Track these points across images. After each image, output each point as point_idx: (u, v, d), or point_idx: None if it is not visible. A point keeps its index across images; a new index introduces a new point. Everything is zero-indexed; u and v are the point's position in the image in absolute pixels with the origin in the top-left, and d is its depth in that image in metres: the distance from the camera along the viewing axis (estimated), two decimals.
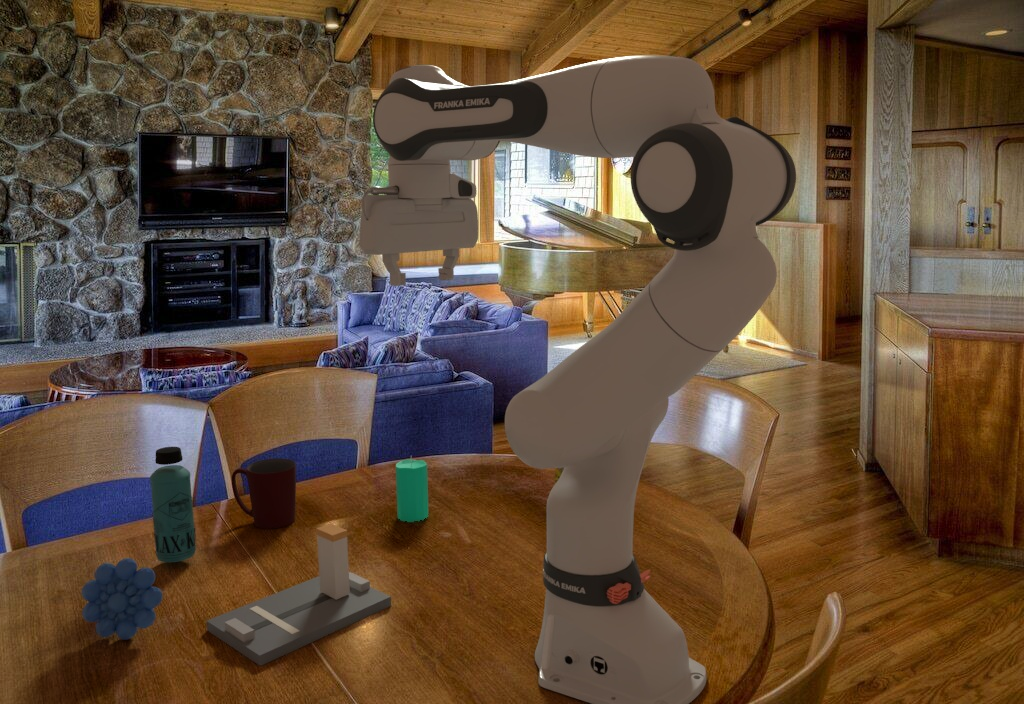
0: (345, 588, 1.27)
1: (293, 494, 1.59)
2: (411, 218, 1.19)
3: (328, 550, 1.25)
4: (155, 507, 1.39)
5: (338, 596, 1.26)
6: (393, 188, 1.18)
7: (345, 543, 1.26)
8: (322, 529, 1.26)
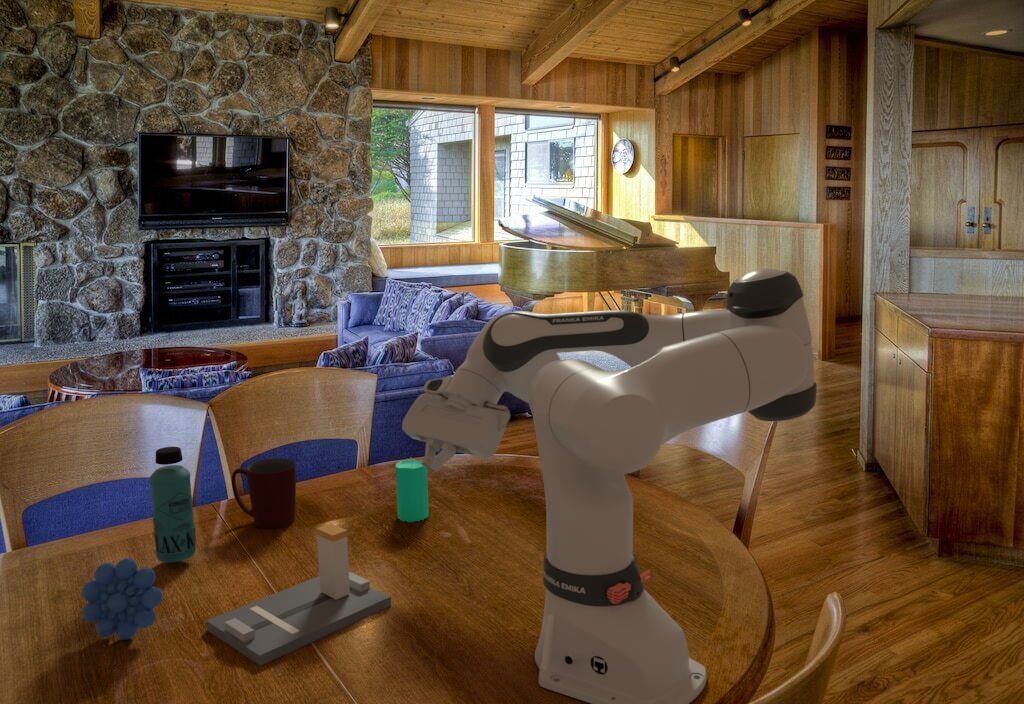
0: (345, 588, 1.27)
1: (293, 494, 1.59)
2: None
3: (328, 550, 1.25)
4: (155, 507, 1.39)
5: (338, 596, 1.26)
6: None
7: (345, 543, 1.26)
8: (322, 529, 1.26)
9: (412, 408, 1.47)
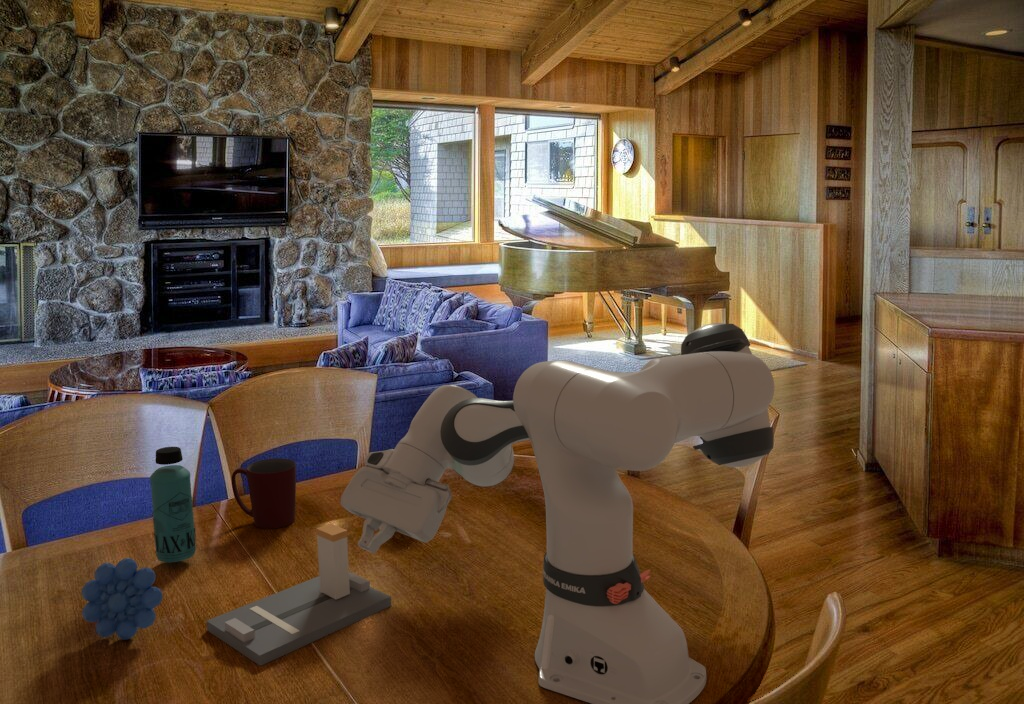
0: (345, 588, 1.27)
1: (293, 494, 1.59)
2: None
3: (328, 550, 1.25)
4: (155, 507, 1.39)
5: (338, 596, 1.26)
6: None
7: (345, 543, 1.26)
8: (322, 529, 1.26)
9: (352, 482, 1.40)
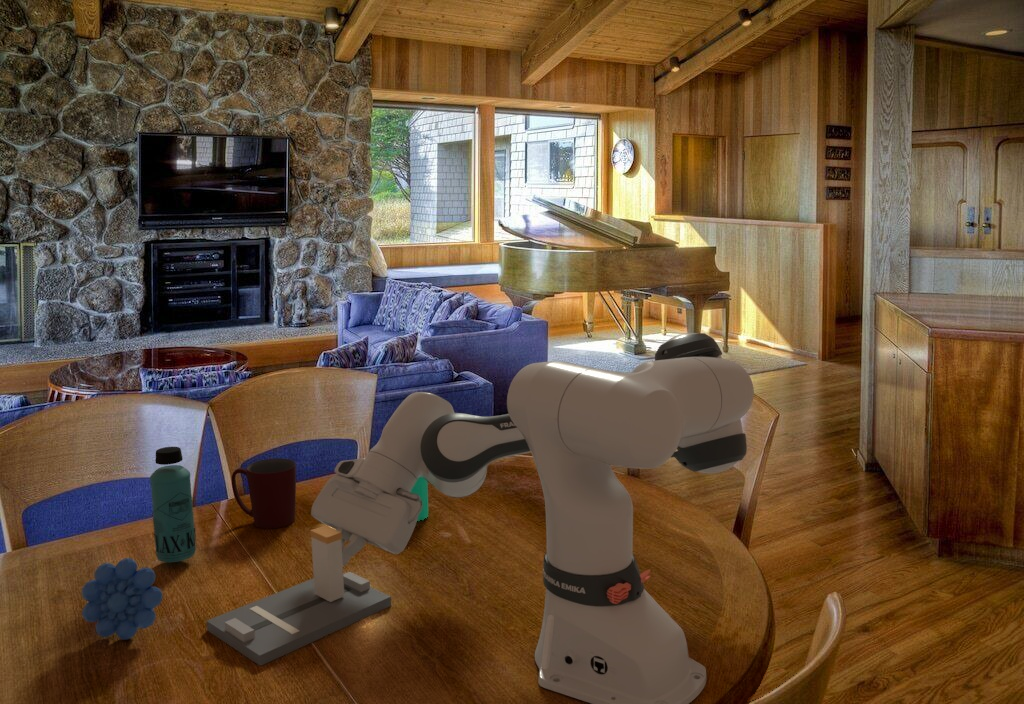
0: (339, 591, 1.26)
1: (293, 494, 1.59)
2: None
3: (322, 552, 1.25)
4: (155, 507, 1.39)
5: (332, 599, 1.26)
6: None
7: (339, 545, 1.25)
8: (316, 531, 1.26)
9: (322, 491, 1.36)
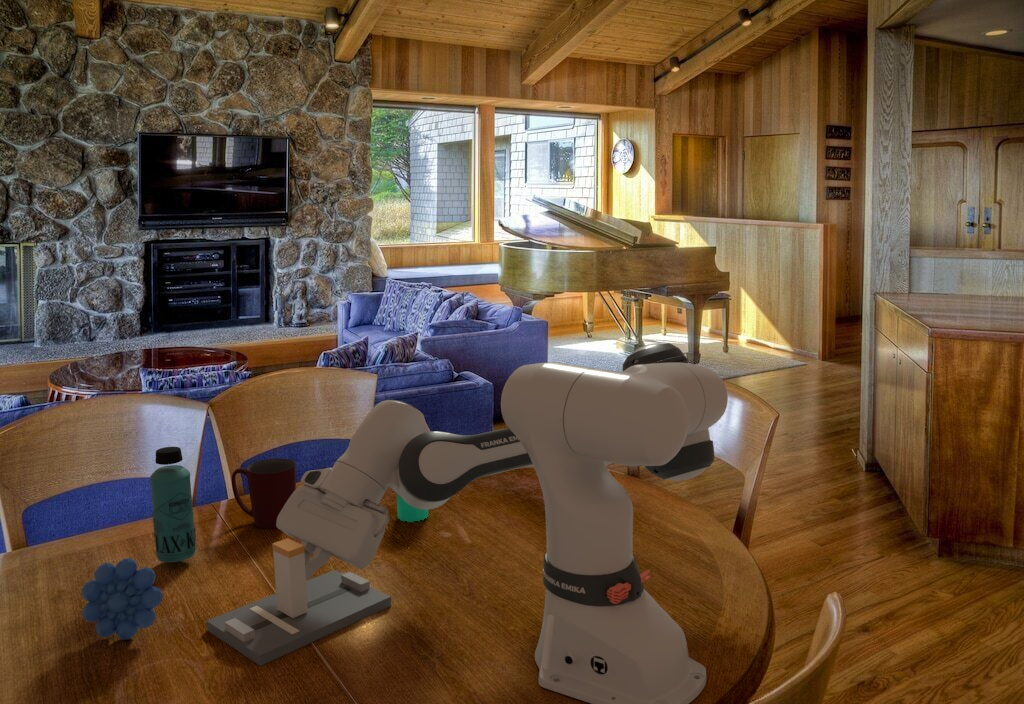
0: (302, 606, 1.22)
1: None
2: None
3: (284, 566, 1.20)
4: (155, 507, 1.39)
5: (295, 615, 1.21)
6: None
7: (302, 559, 1.21)
8: (278, 544, 1.21)
9: (288, 502, 1.32)
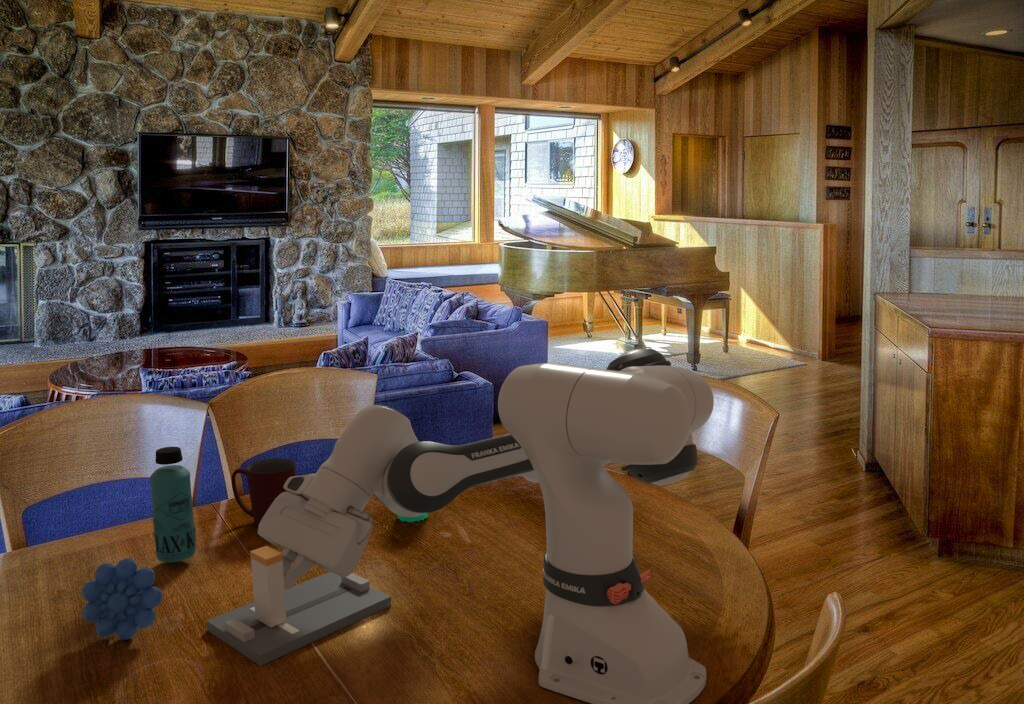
0: (281, 615, 1.19)
1: None
2: None
3: (262, 575, 1.18)
4: (155, 507, 1.39)
5: (273, 624, 1.18)
6: None
7: (280, 567, 1.18)
8: (256, 552, 1.18)
9: (270, 509, 1.29)
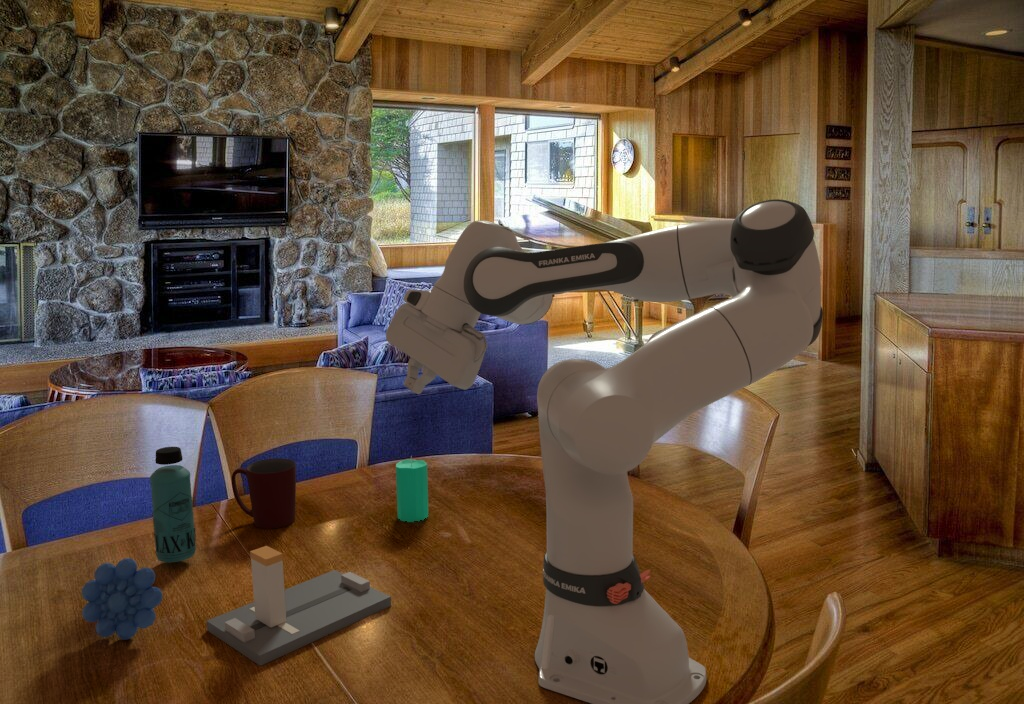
0: (281, 615, 1.19)
1: (293, 494, 1.59)
2: None
3: (262, 575, 1.18)
4: (155, 507, 1.39)
5: (273, 624, 1.18)
6: None
7: (280, 567, 1.18)
8: (256, 552, 1.18)
9: (394, 319, 1.42)
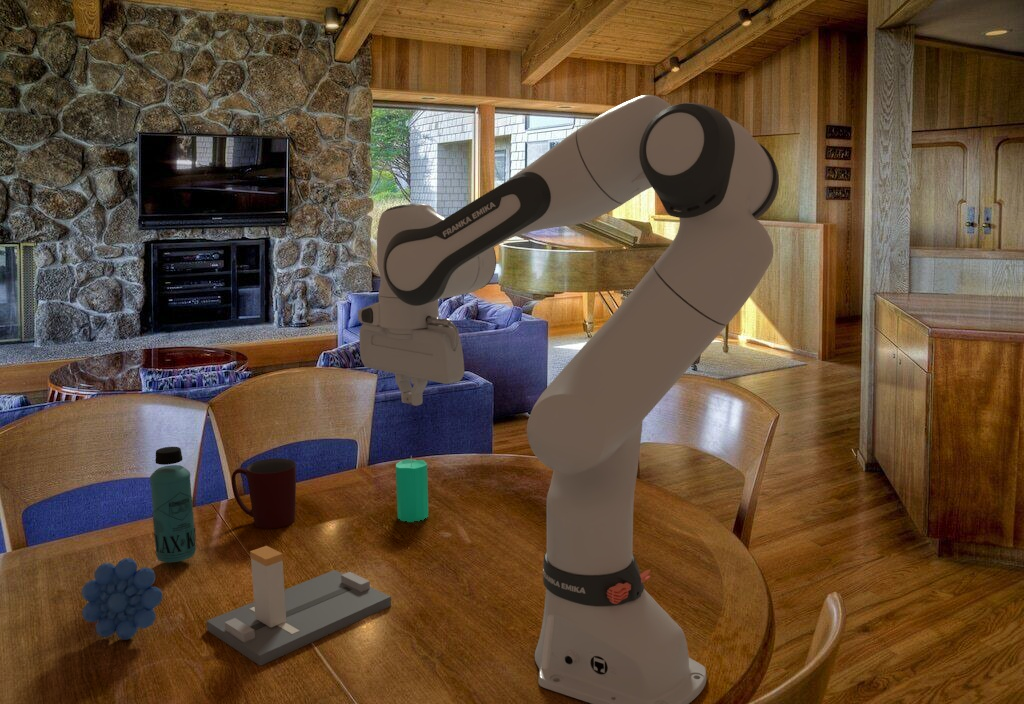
0: (281, 615, 1.19)
1: (293, 494, 1.59)
2: None
3: (262, 575, 1.18)
4: (155, 507, 1.39)
5: (273, 624, 1.18)
6: None
7: (280, 567, 1.18)
8: (256, 552, 1.18)
9: (361, 343, 1.33)
